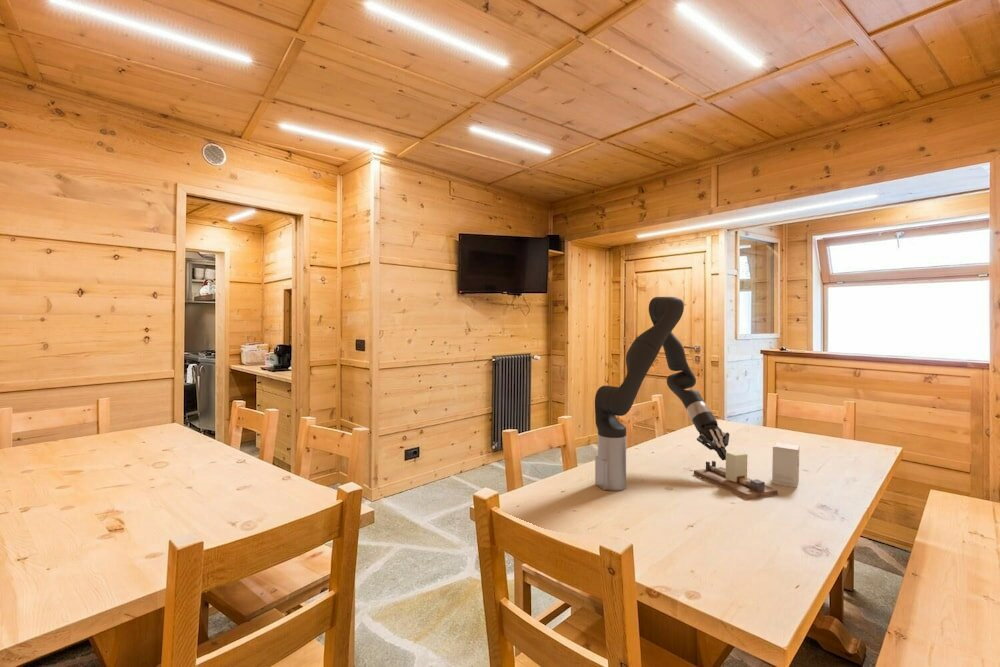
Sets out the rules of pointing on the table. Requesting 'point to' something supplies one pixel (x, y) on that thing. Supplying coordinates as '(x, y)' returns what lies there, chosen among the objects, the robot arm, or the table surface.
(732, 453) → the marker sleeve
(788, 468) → the supplement box
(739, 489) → the rail
